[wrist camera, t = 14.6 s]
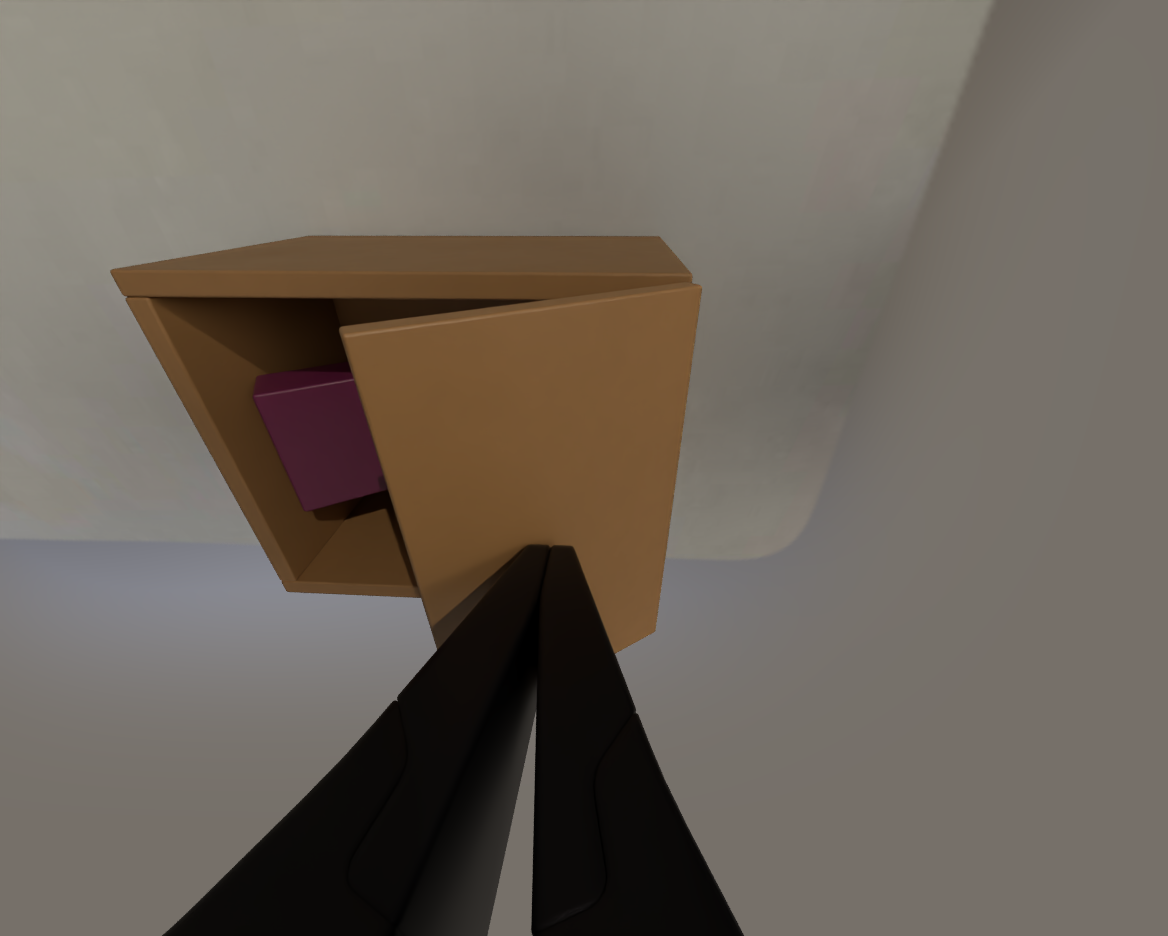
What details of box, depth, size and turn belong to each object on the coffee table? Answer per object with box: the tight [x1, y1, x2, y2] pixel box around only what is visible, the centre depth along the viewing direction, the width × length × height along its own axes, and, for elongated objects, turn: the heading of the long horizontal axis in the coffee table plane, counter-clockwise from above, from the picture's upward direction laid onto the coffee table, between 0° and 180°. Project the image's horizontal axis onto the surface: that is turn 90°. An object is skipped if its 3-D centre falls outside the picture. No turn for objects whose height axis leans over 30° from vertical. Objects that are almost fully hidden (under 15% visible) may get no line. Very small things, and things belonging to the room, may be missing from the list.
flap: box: [339, 282, 702, 653], centre depth 8 cm, size 5×9×1 cm
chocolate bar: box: [252, 362, 388, 512], centre depth 13 cm, size 4×8×2 cm
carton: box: [110, 236, 692, 598], centre depth 13 cm, size 11×9×6 cm
